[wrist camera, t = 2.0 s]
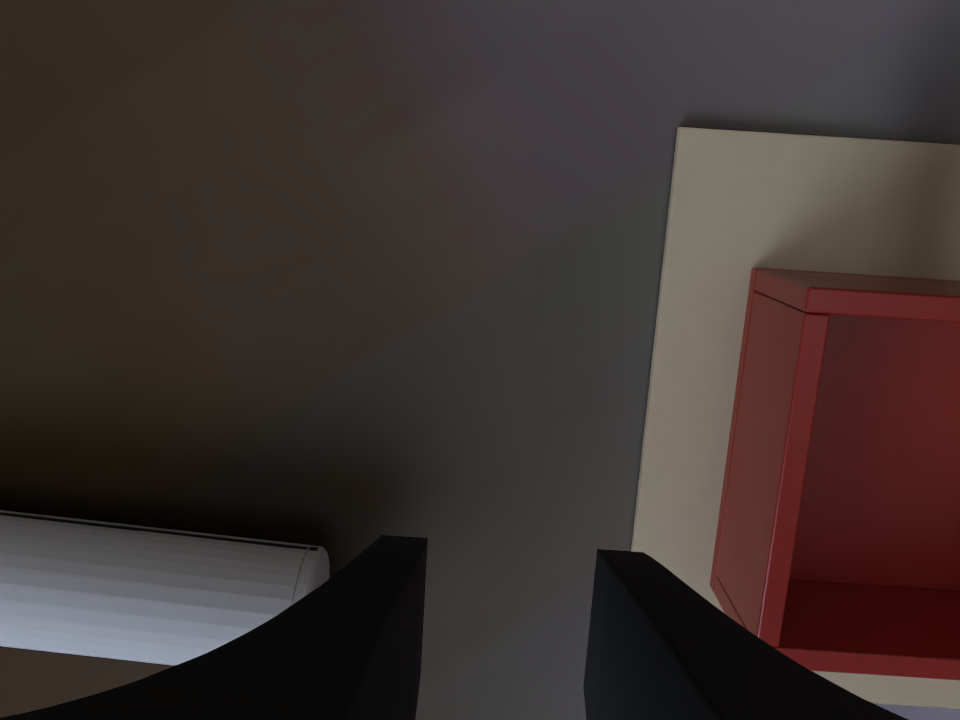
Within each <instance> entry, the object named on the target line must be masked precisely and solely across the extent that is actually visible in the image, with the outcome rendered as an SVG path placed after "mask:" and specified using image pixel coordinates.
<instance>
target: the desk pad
mask: <svg viewBox="0 0 960 720" xmlns="http://www.w3.org/2000/svg"><path fill="white" fill-rule="evenodd" d="M754 267H756V268H772V269H787V270H803V271H818V272H834V273H849V274H865V275H880V276H896V277H911V278H927V279H942V280H958V281H960V145H956V144H940V143H925V142H909V141H894V140H878V139H862V138H847V137H831V136H816V135H800V134H784V133H769V132H753V131H738V130H722V129H707V128H691V127H678V128H677V136H676V146H675V155H674V164H673V173H672V182H671V191H670V200H669V209H668V219H667V228H666V237H665V246H664V255H663V264H662V273H661V283H660V292H659V301H658V310H657V319H656V328H655V337H654V346H653V356H652V365H651V374H650V383H649V392H648V401H647V410H646V419H645V429H644V438H643V447H642V456H641V465H640V474H639V483H638V493H637V502H636V511H635V520H634V529H633V538H632V547H631V551H632V552H644V553H645V554H647V555H649V556H650V557H652V558H653V559H655V560H656V561H657V562H659V563H660V564H661V565H663V566H664V567H665V568H667V569H668V570H669V571H671V572H672V573H673V574H674V575H676V576H677V577H678V578H679V579H681V580H682V581H683V582H684V583H686V584H687V585H688V586H690V587H691V588H692V589H693V590H695V591H696V592H697V593H698V594H700V595H701V596H702V597H704V598H705V599H706V600H707V601H709V602H710V603H711V604H713V605H714V606H715V607H717V608H718V609H719V610H721V611H722V612H723V613H724V611H723V609H722V607H721V605H720V604H719V602H718V600H717V598H716V596H715V594H714V592H713V591H712V589H711V587H710V579H711V571H712V563H713V556H714V548H715V541H716V533H717V526H718V518H719V511H720V503H721V495H722V488H723V480H724V473H725V465H726V458H727V450H728V443H729V435H730V428H731V420H732V412H733V405H734V397H735V390H736V382H737V375H738V367H739V360H740V352H741V345H742V337H743V329H744V322H745V314H746V307H747V299H748V292H749V284H750V277H751V269H752V268H754ZM813 672H814V673H816V674H818V675H820V676H822V677H824V678H825V679H827V680H829V681H831V682H833V683H835V684H836V685H838V686H840V687H842V688H844V689H846V690H847V691H849V692H851V693H853V694H855V695H857V696H859V697H861V698H863V699H865V700H867V701H869V702H871V703H876V704H892V705H907V706H922V707H937V708H953V709H960V680H945V679H930V678H915V677H899V676H884V675H869V674H854V673H838V672H823V671H813Z"/></svg>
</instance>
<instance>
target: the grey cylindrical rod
mask: <svg viewBox="0 0 960 720" xmlns="http://www.w3.org/2000/svg"><path fill="white" fill-rule="evenodd" d="M329 571H330V570H329V558H328V553H327V551H326V550H325V548H324V547H321V546H312V545H305V544H296V543H288V542H279V541H270V540H261V539H252V538H243V537H234V536H225V535H217V534H208V533H199V532H190V531H181V530H172V529H163V528H154V527H145V526H137V525H128V524H119V523H110V522H101V521H92V520H83V519H74V518H66V517H57V516H48V515H39V514H30V513H21V512H12V511H4V510H0V646H5V647H14V648H23V649H32V650H41V651H50V652H59V653H68V654H77V655H86V656H95V657H104V658H112V659H121V660H130V661H139V662H148V663H157V664H166V665H175V666H176V665H178V664H181V663H183V662H186V661H188V660H191V659H193V658H196V657H198V656H201V655H203V654H205V653H208V652H210V651H212V650H214V649H216V648H218V647H220V646H222V645H224V644H226V643H228V642H230V641H232V640H234V639H236V638H238V637H240V636H242V635H244V634H246V633H248V632H249V631H251V630H253V629H255V628H256V627H258V626H260V625H262V624H263V623H265V622H267V621H268V620H270V619H272V618H273V617H275V616H277V615H278V614H280V613H281V612H282V611H284V610H285V609H287V608H288V607H290V606H291V605H293V604H294V603H296V602H297V601H299V600H300V599H302V598H303V597H305V596H306V595H307V594H309V593H310V592H312V591H313V590H315V589H316V588H318V587H319V586H320V585H322V584H323V583H324V582H326V581H327V580H328V579H329Z"/></svg>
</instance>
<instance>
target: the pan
mask: <svg viewBox="0 0 960 720" xmlns="http://www.w3.org/2000/svg"><path fill="white" fill-rule="evenodd" d="M710 587H711V589H712V591H713V592H714V594H715V596H716V598H717V600H718V602H719V604H720V605H721V607H722V609H723V611H724V613H725V614H726V615H727V616H729V617H730V618H731V619H733V620H734V621H736V622H737V623H738V624H740V625H741V626H743V627H744V628H745V629H747V630H748V631H750V632H751V633H753V634H754V635H756V636H757V637H759V638H760V639H762V640H763V641H765V642H766V643H768V644H769V645H771V646H772V647H774V648H775V649H777V650H778V651H780V652H781V653H783V654H784V655H786V656H787V657H789V658H791V659H792V660H794V661H796V662H797V663H799V664H801V665H802V666H804V667H806V668H807V669H809V670H811V671H823V672H838V673H854V674H869V675H884V676H899V677H915V678H930V679H945V680H960V281H958V280H942V279H927V278H911V277H896V276H880V275H865V274H849V273H834V272H818V271H803V270H787V269H772V268H756V267H754V268H752V269H751V277H750V284H749V292H748V299H747V307H746V314H745V322H744V329H743V337H742V345H741V352H740V360H739V367H738V375H737V382H736V390H735V397H734V405H733V412H732V420H731V428H730V435H729V443H728V450H727V458H726V465H725V473H724V480H723V488H722V495H721V503H720V511H719V518H718V526H717V533H716V541H715V548H714V556H713V563H712V571H711V579H710Z"/></svg>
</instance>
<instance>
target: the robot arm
mask: <svg viewBox="0 0 960 720" xmlns="http://www.w3.org/2000/svg"><path fill="white" fill-rule="evenodd" d="M427 540H428V538H418V537H402V536H387V535H382V536H381V537H379V538H378V539H377V540H376V541H374V542H373V543H372V544H371V545H369V546H368V547H367V548H366V549H365V550H363V551H362V552H361V553H360V554H359V555H357V556H356V557H355V558H354V559H353V560H352V561H350V562H349V563H348V564H347V565H346V566H344V567H343V568H342V569H341V570H340V571H338V572H337V573H336V574H335V575H333V576H332V577H331V578H329V579H328V580H327V581H326V582H324V583H323V584H322V585H320V586H319V587H318V588H316V589H315V590H313V591H312V592H310V593H309V594H307V595H306V596H305V597H303V598H302V599H300V600H299V601H297V602H296V603H294V604H293V605H291V606H290V607H288V608H287V609H285V610H284V611H282V612H281V613H280V614H278V615H277V616H275V617H273V618H272V619H270V620H268V621H267V622H265V623H263V624H262V625H260V626H258V627H256V628H255V629H253V630H251V631H249V632H248V633H246V634H244V635H242V636H240V637H238V638H236V639H234V640H232V641H230V642H228V643H226V644H224V645H222V646H220V647H218V648H216V649H214V650H212V651H210V652H208V653H205V654H203V655H201V656H198V657H196V658H193V659H191V660H188V661H186V662H183V663H181V664H178V665H176V666H173V667H171V668H168V669H166V670H163V671H161V672H158V673H156V674H154V675H151V676H149V677H146V678H144V679H141V680H138V681H135V682H132V683H129V684H126V685H123V686H120V687H117V688H114V689H111V690H108V691H104V692H101V693H98V694H95V695H91V696H88V697H84V698H81V699H77V700H73V701H70V702H66V703H63V704H59V705H55V706H52V707H48V708H43V709H39V710H35V711H31V712H27V713H23V714H18V715H13V716H8V717H3V718H0V720H415V717H416V708H417V700H418V691H419V683H420V672H421V653H422V634H423V616H424V597H425V578H426V559H427ZM584 696H585V707H586V718H587V720H908V719H906V718H903V717H901V716H899V715H897V714H894V713H892V712H890V711H887V710H885V709H883V708H881V707H879V706H877V705H875V704H873V703H871V702H869V701H867V700H865V699H863V698H861V697H859V696H857V695H855V694H853V693H851V692H849V691H847V690H846V689H844V688H842V687H840V686H838V685H836V684H835V683H833V682H831V681H829V680H827V679H825V678H824V677H822V676H820V675H818V674H816V673H814V672H813V671H811V670H809V669H807V668H806V667H804V666H802V665H801V664H799V663H797V662H796V661H794V660H792V659H791V658H789V657H787V656H786V655H784V654H783V653H781V652H780V651H778V650H777V649H775V648H774V647H772V646H771V645H769V644H768V643H766V642H765V641H763V640H762V639H760V638H759V637H757V636H756V635H754V634H753V633H751V632H750V631H748V630H747V629H745V628H744V627H743V626H741V625H740V624H738V623H737V622H736V621H734V620H733V619H731V618H730V617H729V616H727V615H726V614H725V613H723V612H722V611H721V610H719V609H718V608H717V607H715V606H714V605H713V604H711V603H710V602H709V601H707V600H706V599H705V598H704V597H702V596H701V595H700V594H698V593H697V592H696V591H695V590H693V589H692V588H691V587H690V586H688V585H687V584H686V583H684V582H683V581H682V580H681V579H679V578H678V577H677V576H676V575H674V574H673V573H672V572H671V571H669V570H668V569H667V568H665V567H664V566H663V565H661V564H660V563H659V562H657V561H656V560H655V559H653V558H652V557H650V556H649V555H647V554H645V553H644V552H632V551H617V550H601V549H597V558H596V568H595V578H594V588H593V598H592V608H591V618H590V628H589V638H588V648H587V658H586V668H585V678H584Z"/></svg>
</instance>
